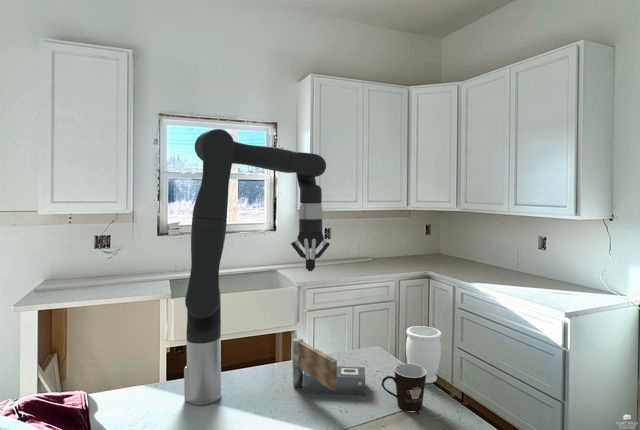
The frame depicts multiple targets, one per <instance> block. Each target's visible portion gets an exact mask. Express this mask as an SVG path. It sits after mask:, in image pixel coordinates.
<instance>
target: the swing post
mask: <svg viewBox="0 0 640 430" xmlns="http://www.w3.org/2000/svg"><path fill="white" fill-rule="evenodd" d="M303 374H304V371H302V370H301V369H299V368H295V367H293V366H292V387H293V388H295V389H301V388H302V389H303Z"/></svg>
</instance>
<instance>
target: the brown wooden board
mask: <svg viewBox="0 0 640 430" xmlns="http://www.w3.org/2000/svg"><path fill="white" fill-rule="evenodd" d="M337 366H338V361H337V360H336V359H335V358H333V357H331V356H329V355H327V354H326V353H324V352H323V351H321V350H319V349H318V348H316V347H313V346H311V345H310V344H308V343H306V342H305V341H304V338H303V339H302V338H293V339H292V368H293V367H295V368H299V369H301V370H302V371H303V373H304V372H305V373H307V374H308V375H310V376H311V377H313V378H314V379H316V380H317V381H318V382H320V383H321V384H323V385H324V386H326V387H327V388H329V389H330V390H332V391H333V390H336V389H337Z"/></svg>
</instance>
